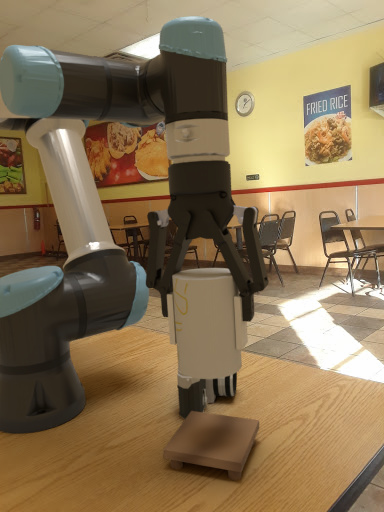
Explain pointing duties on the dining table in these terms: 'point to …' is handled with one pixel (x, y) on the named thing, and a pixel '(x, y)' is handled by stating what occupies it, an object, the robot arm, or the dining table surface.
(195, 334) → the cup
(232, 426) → the wooden stand
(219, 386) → the camera
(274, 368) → the dining table surface
